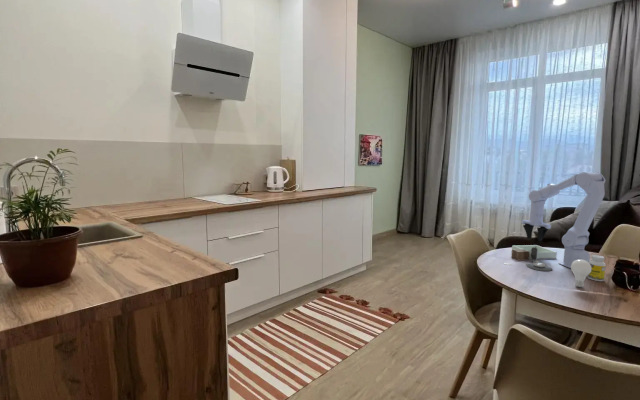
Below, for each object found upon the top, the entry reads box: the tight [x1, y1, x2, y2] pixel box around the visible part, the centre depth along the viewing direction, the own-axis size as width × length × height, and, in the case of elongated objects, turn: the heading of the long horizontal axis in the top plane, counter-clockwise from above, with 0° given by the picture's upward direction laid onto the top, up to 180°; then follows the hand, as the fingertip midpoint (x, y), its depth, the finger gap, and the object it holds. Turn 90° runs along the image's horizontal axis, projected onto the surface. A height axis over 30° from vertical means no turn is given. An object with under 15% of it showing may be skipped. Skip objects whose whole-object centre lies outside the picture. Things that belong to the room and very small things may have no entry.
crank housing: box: [503, 262, 553, 272], centre depth 158 cm, size 20×10×1 cm, turn 71°
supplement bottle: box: [587, 254, 607, 282], centre depth 142 cm, size 5×5×10 cm
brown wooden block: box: [511, 249, 529, 261], centre depth 171 cm, size 4×4×6 cm
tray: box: [511, 244, 558, 260], centre depth 178 cm, size 14×14×4 cm
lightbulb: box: [570, 259, 592, 288], centre depth 132 cm, size 6×6×11 cm
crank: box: [530, 247, 547, 268], centre depth 161 cm, size 14×5×7 cm, turn 161°
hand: (534, 239), depth 177 cm, fingers open, 5 cm apart
